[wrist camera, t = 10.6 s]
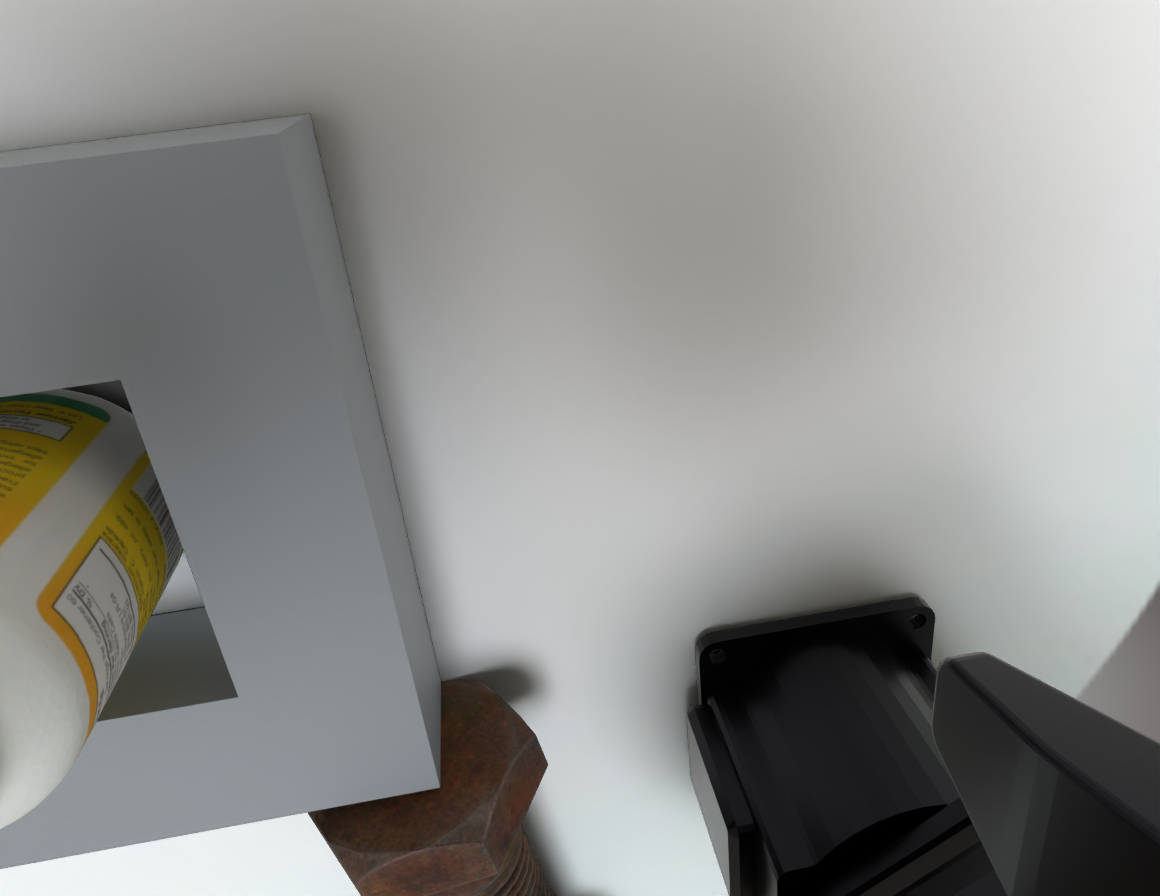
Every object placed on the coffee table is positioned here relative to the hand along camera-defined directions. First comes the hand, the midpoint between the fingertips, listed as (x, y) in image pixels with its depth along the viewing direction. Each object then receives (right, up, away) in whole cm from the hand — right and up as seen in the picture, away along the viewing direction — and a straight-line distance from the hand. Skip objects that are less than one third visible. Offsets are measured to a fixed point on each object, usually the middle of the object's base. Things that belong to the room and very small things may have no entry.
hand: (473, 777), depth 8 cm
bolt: (-2, -10, +18) cm, 21 cm away
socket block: (-10, +2, +11) cm, 15 cm away
